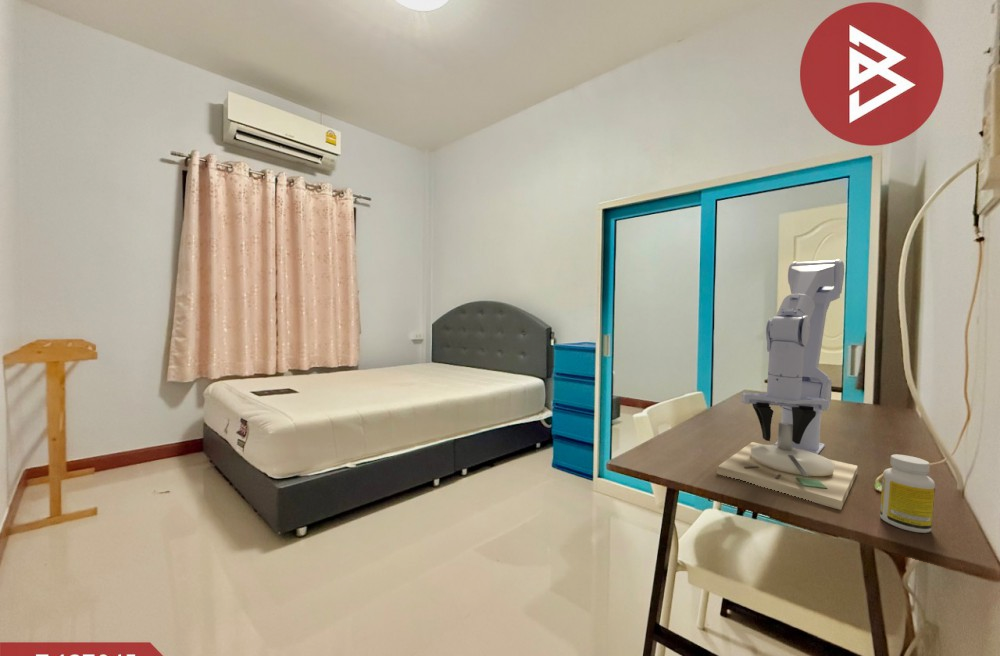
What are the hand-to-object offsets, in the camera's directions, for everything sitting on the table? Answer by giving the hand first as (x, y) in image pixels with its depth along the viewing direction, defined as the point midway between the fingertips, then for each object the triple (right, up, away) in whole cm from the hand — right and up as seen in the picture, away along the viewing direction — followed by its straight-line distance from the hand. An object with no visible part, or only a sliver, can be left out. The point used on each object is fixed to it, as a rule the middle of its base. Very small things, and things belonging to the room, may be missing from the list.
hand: (780, 440), depth 82 cm
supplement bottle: (+2, -6, -23) cm, 24 cm away
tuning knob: (-2, -3, -7) cm, 8 cm away
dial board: (-2, -5, -5) cm, 7 cm away
